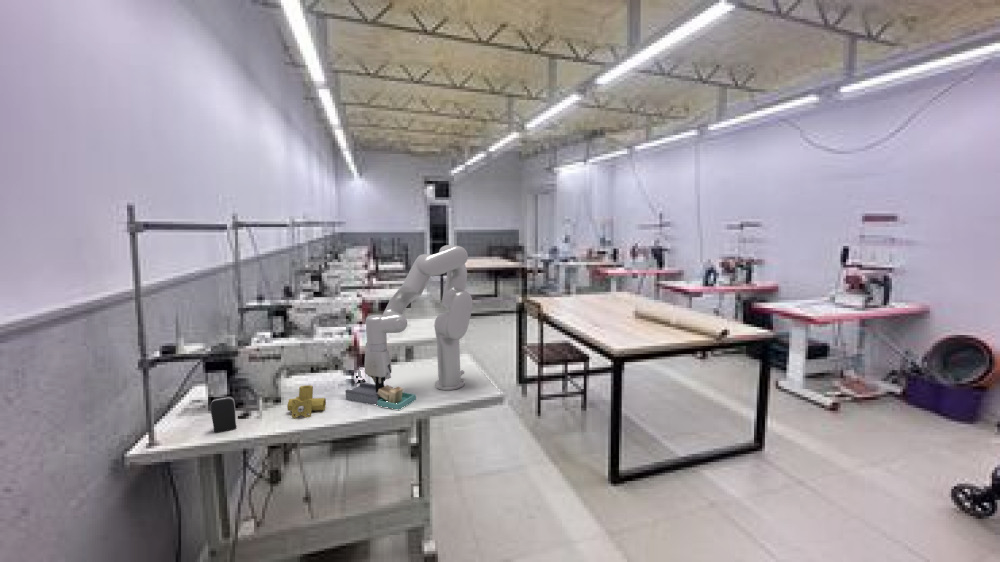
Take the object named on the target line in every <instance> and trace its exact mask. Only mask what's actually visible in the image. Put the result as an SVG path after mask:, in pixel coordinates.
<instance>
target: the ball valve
mask: <svg viewBox="0 0 1000 562" xmlns="http://www.w3.org/2000/svg"><path fill="white" fill-rule="evenodd" d="M298 392H299V393H298V396H296V397H295V398H290V399H288V401H287V406H286V407H287V408H286V409H287V411H289V412H291V418H292V419H296V418H298V417H300V416H303V417H304V418H307V417H308V418H312V412H315V411H317V412H320V411H322V410H324V411H325V410H326V406H327V399H326V398H325V397H319V398H318V397H317V398H315V397H314V396H313V395H314V394H313V393H314V385H309V384H308V385H307V384H306V385H300V386H299V391H298Z"/></svg>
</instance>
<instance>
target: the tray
mask: <svg viewBox="0 0 1000 562" xmlns="http://www.w3.org/2000/svg"><path fill="white" fill-rule="evenodd" d="M414 400H415V401H416V400H417V395H416V394H415V393H410V392H409V393H408V392H404V391H403V393H402V400H401V401H399V402H397V404H395V403H389V402H386V401H388V400H385V399H384V398H382V399H380V400H378V401H377V405H378V406H382V407H388V408H393V409H401V408H402V407H404V406H405V407H406V405H407V404H408V405H410V404H411V402H412V401H413V402H415V401H414ZM413 402H412V403H413ZM409 403H410V404H409ZM377 405H376V406H377ZM408 405H407V406H408ZM378 406H377V407H378ZM382 407H381V408H382ZM405 407H404V408H405ZM388 408H387V409H388ZM393 409H392V410H393ZM402 409H403V408H402ZM402 409H401V410H402Z"/></svg>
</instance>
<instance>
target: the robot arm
mask: <svg viewBox="0 0 1000 562" xmlns="http://www.w3.org/2000/svg"><path fill="white" fill-rule="evenodd" d="M468 257H469V255H468V252H467V250H466V248H464V247H462V246H460V245H452V244H448V245H447V244H446V245H443V246H441V247H440V249H439V251H438V252H437V253H434V254H429V253H427V254H426V253H424V254H423V253H422V254H420V255H418V256H417V257H416V258H415V261H414V262H413V264H412V265H411V268H410V269H409V272H408V274H407V275H406V277H405V278H404V281H403V283H402V285H401V286H400V287H399V288H398V290H397V291H396V292H395V293H394V295H393V296H392V297H391V299H390V300H389V302H388V303H387V305H386V308H385V309H384V311H383V313H382V314H373V315H372V314H371V315H368V316H366V318H365V332H366V333H365V334H366V343H365V346H366V350H365V353H364V372H365V375H367V377H369V378H371V379H372V380H373V384H375V387H376V393H378V389H380V388H382V387H384V386H385V382H386V380H389V379H391V378H392V375H391V374H392V361H391V354H390V351H389V349H388V338H387V334H398V333H399V334H400V333H402V332H404V331H405V330H406V328H407V327H408V320H407V318H406V317H405V316H404V315H403V314H404V312H405V310H406V308H407V307H408V306H409V305H410V304H411V303H412V302H413V301H414V300H416V299H418V298H419V297H421V295H422V294H423V293H424V292H425V291H424V290H425V288H426V286H427V285H428V282H429V281H430V279H431V277H437V276H441V275H443V274H446V281H445V285H444V289H443V294H442V300H441V303H442V305H443V307H444V308H446V309H447V310H449V311H447V312H441V313H439V314H438V315H437V316H436V317H435V320H434V333H435V339H436V350H437V351H436V353H437V357H436V358H437V374H438V375H437V377H438V378H437V380H436V381H435V383H434V386H435V388H436V389H439V390H441V391H454V390H458V389H460V388H463V386H465V380H464V379H463V378H462V376H463V375H465V371H464V370H461V353H460V352H461V351H460V350H461V349H460V345H461V344H460V339H462V338H463V337H464V336H466V333H467V332H468V330H469V329H468V328H469V324H470V320H471V316H472V310H473V298H472V296H471V294H470V293H469V292H468V291H467V290H466V287H467V279H468V270H467V266H466V263H467V262H468Z"/></svg>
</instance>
